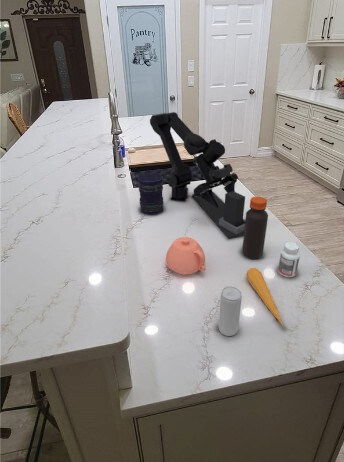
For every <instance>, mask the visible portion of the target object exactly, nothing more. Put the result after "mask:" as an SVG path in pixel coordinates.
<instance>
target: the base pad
mask: <svg viewBox="0 0 344 462" xmlns="http://www.w3.org/2000/svg"><path fill="white" fill-rule="evenodd" d="M212 194H213V196H214V198H215V200H216V202H217V205H218V208H217V209H216V208H215V207H214V206H212V205H211V204H210V203H209V202H207V201H206V200H204V199H203V198H201V197H200V198H199V196H200V195H199V196H197V197H195V195H194V193H193V194H191V197H192V198H193V199H194V200H195V201H196V203H197V204H198V205H199V207H200V208H201V209H202V210H203V211H204V212H205V213H206V214H207V216H208V217H209V218H210V219H211V220H212V222H213V223H214V224H215V225H216V226H217V228H219V230H220V231H221V232H222V233H223V234H224V235H225V237H226V238H227V239H228V240H231V239H236V238H242V237H244V229H245V219H244V218H243V223H242V225H241V226H239V227H235V226H233V225H232V224H230V223H228V222H226V221H225V220H223V218H224V205H225V201H223V200H222V199H221V198H220V197H219V196H218V195H217V194H216V193H215V192H214V191H213V190H212Z"/></svg>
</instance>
